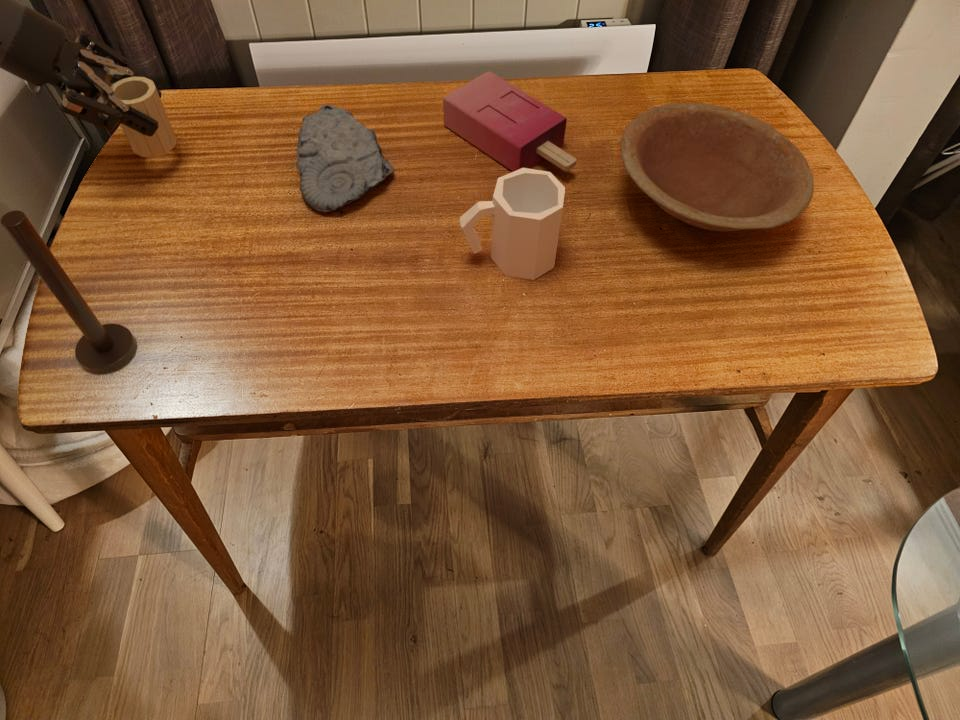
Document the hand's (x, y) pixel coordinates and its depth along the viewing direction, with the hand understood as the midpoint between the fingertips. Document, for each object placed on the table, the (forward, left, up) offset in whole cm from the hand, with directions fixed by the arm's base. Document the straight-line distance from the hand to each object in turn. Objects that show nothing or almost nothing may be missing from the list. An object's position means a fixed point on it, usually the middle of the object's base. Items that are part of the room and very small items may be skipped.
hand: (156, 114), depth 90 cm
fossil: (+20, -12, -7) cm, 24 cm away
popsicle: (+43, -18, -7) cm, 47 cm away
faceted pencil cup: (-2, 0, -4) cm, 5 cm away
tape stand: (-14, -29, -7) cm, 33 cm away
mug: (+32, -36, -7) cm, 49 cm away
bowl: (+59, -39, -7) cm, 71 cm away
